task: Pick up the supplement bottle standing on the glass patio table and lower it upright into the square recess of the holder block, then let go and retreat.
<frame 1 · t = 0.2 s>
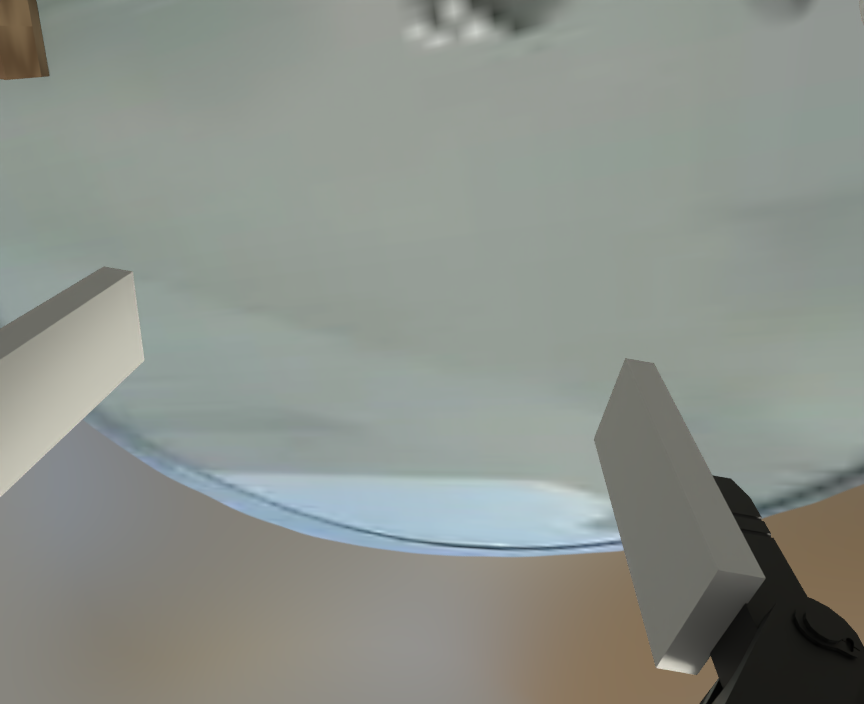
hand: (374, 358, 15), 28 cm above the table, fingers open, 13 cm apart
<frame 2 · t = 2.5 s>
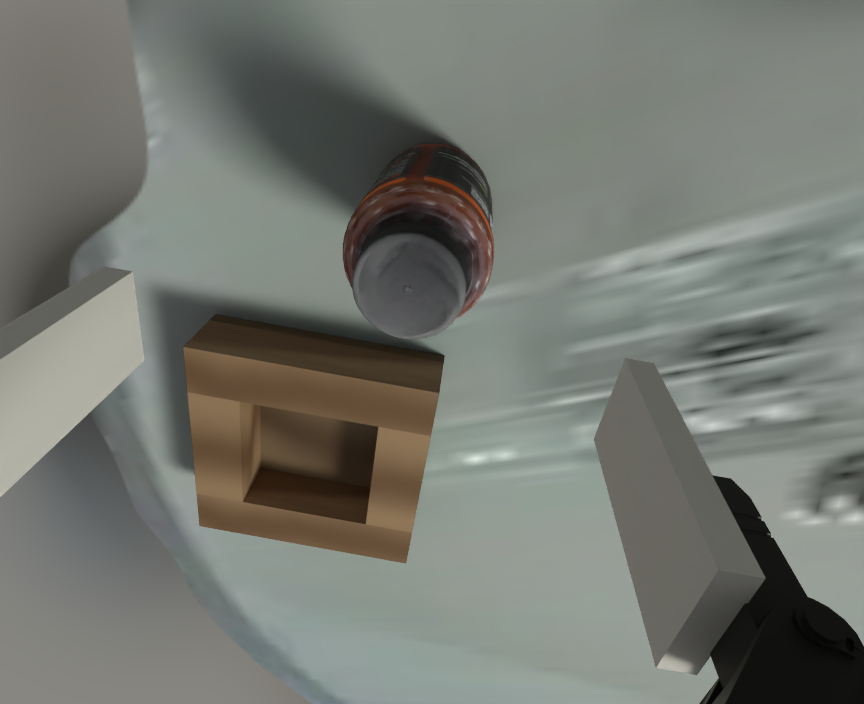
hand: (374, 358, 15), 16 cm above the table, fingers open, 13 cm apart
holder block: (323, 425, 36), on the table
supplement bottle: (435, 200, 29), on the table
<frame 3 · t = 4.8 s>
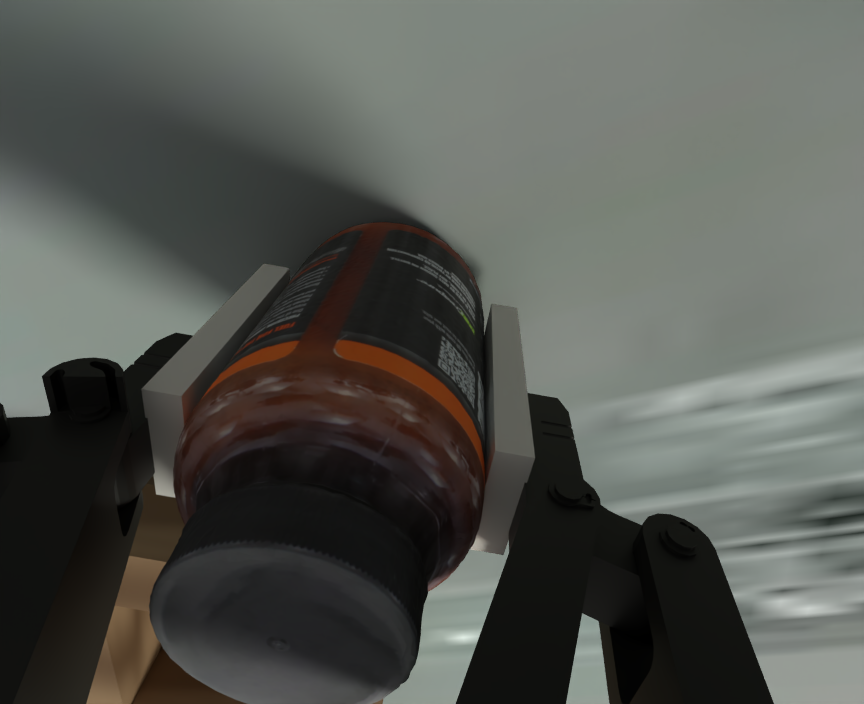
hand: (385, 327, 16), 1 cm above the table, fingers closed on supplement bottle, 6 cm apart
holder block: (247, 594, 26), on the table
supplement bottle: (393, 304, 18), on the table, touching gripper
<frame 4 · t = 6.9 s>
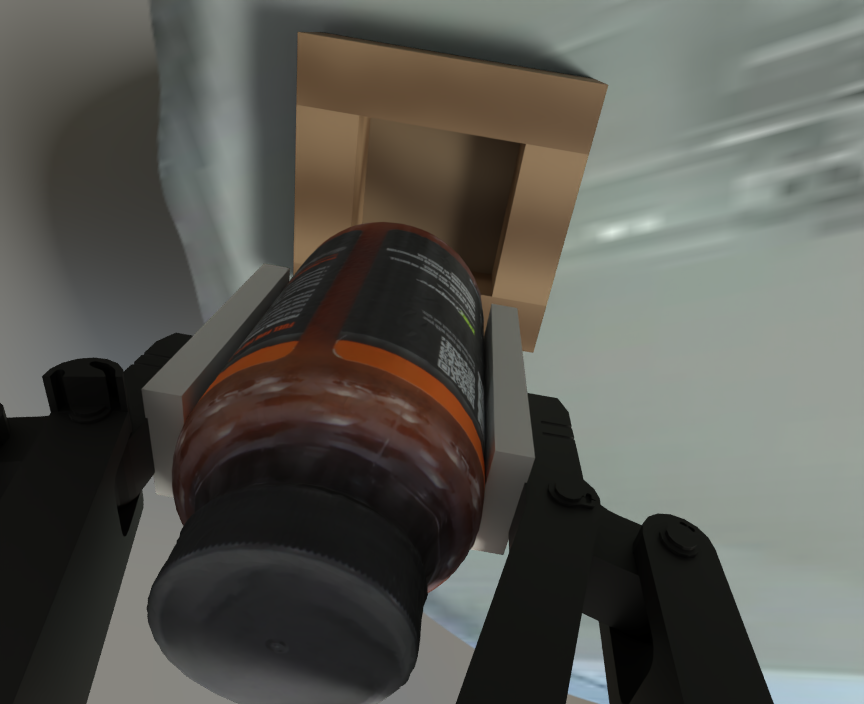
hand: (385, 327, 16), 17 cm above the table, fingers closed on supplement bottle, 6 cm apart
holder block: (436, 192, 31), on the table
supplement bottle: (392, 304, 18), point 16 cm above the table, touching gripper
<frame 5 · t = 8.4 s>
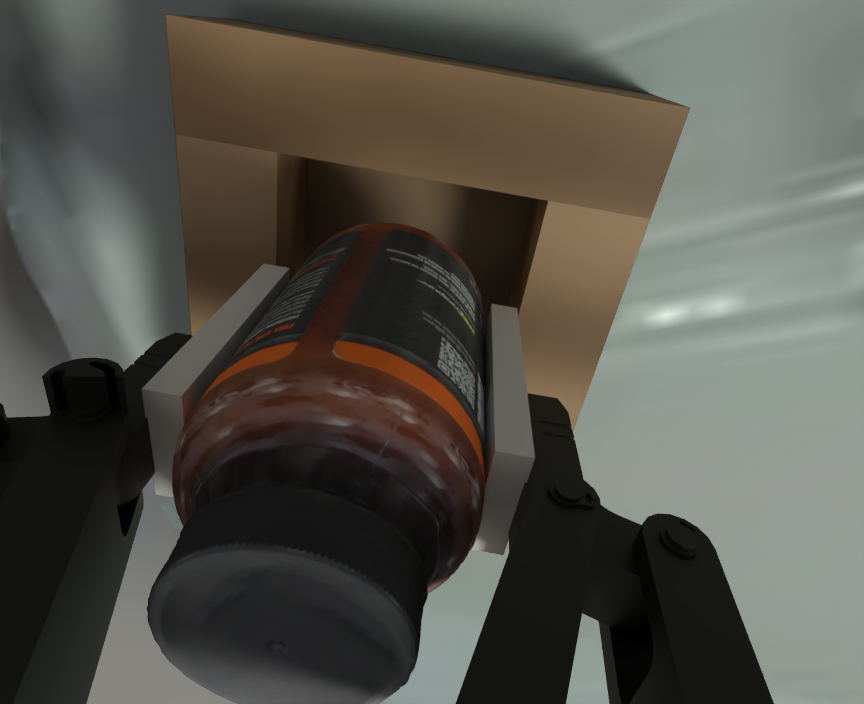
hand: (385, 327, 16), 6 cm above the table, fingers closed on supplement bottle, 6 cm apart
holder block: (411, 257, 21), on the table
supplement bottle: (392, 305, 18), point 4 cm above the table, touching gripper
when the fingers open (5 cm above the table, at t = 9.3 s): supplement bottle drops 2 cm, resting on holder block.
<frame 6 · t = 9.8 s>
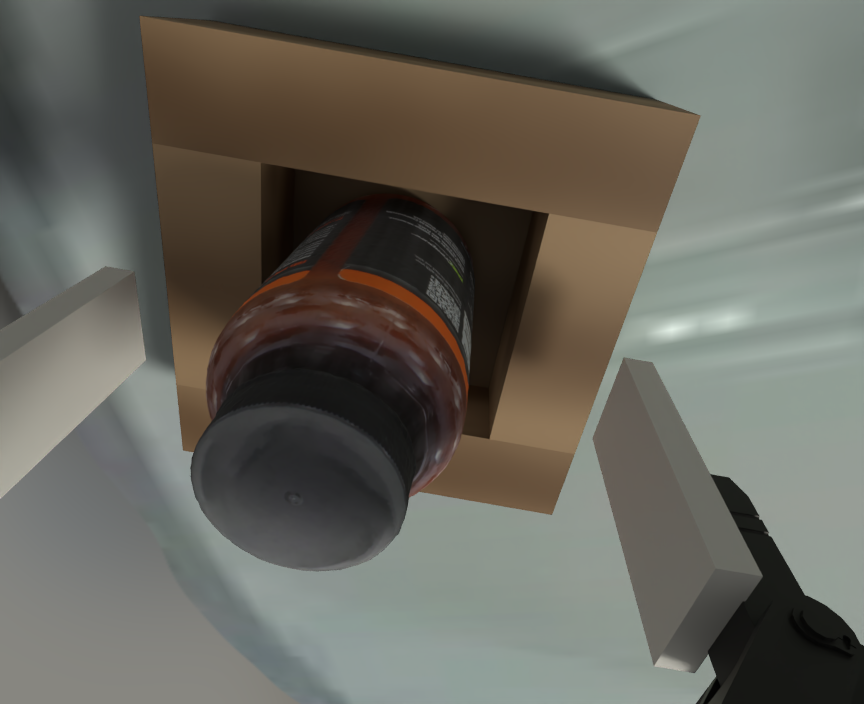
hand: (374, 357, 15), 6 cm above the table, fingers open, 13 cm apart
holder block: (404, 270, 20), on the table
supplement bottle: (394, 271, 20), point 1 cm above the table, touching holder block
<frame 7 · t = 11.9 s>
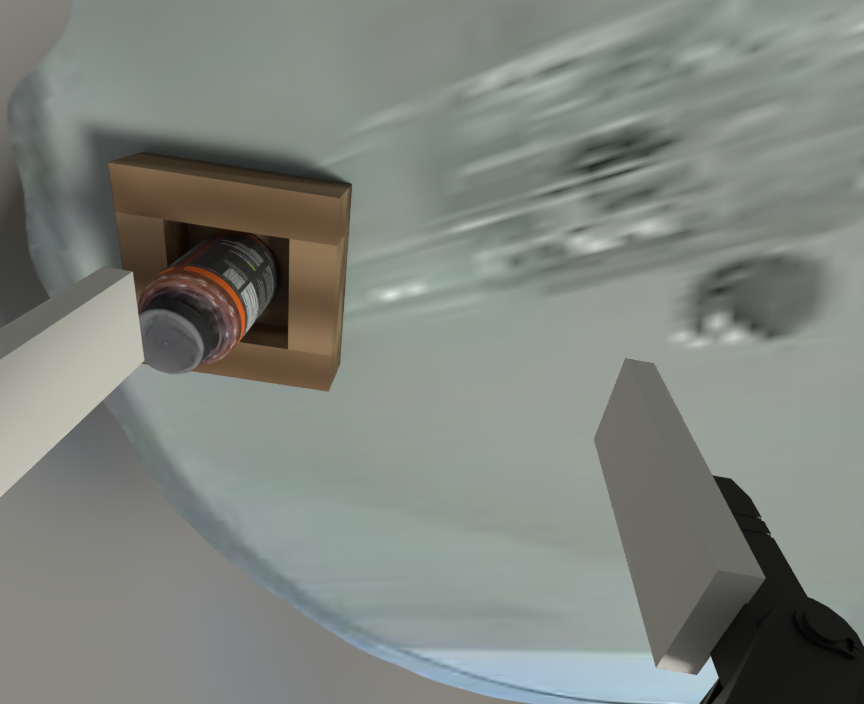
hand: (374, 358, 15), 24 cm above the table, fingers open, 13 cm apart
holder block: (249, 267, 40), on the table
supplement bottle: (242, 267, 39), point 1 cm above the table, touching holder block
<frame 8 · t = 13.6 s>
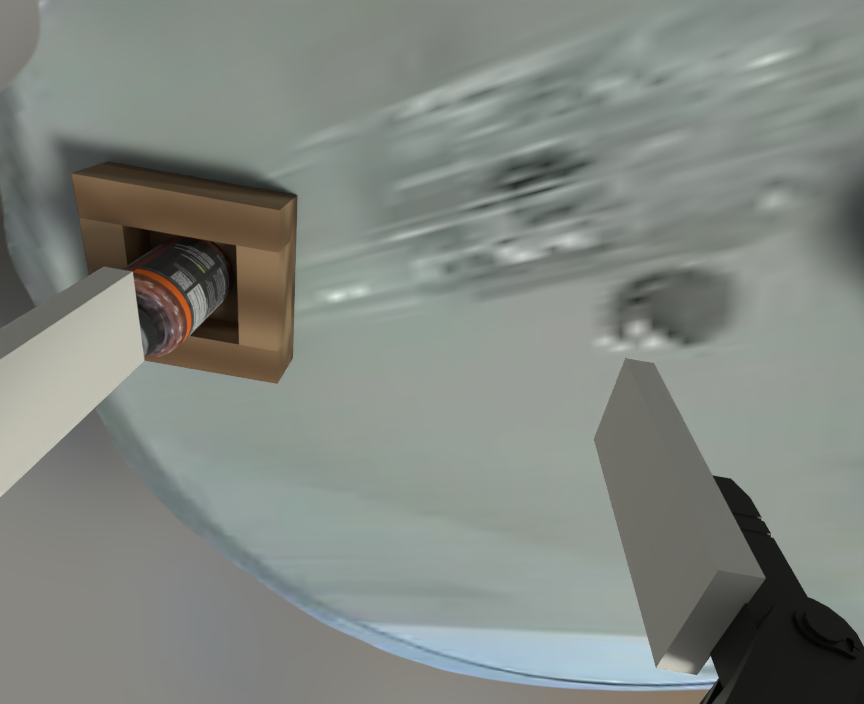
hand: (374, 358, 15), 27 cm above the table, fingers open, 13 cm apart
holder block: (207, 268, 43), on the table
supplement bottle: (200, 268, 43), point 1 cm above the table, touching holder block
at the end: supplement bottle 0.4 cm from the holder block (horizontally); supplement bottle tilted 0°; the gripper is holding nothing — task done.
